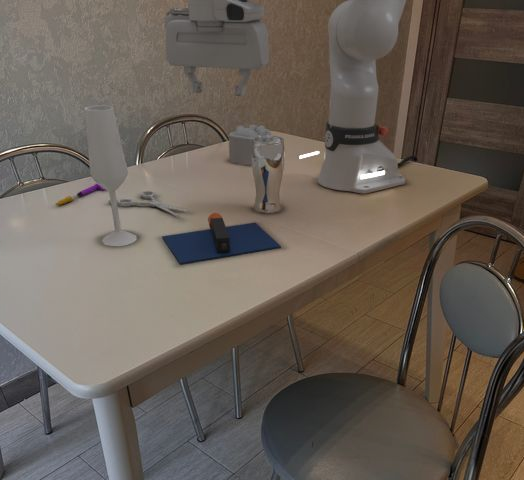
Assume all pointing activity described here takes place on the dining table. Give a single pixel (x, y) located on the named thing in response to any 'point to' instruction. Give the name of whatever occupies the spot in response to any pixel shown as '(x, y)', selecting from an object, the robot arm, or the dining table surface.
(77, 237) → the dining table surface
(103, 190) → the purple and yellow rod
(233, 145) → the lumpy-topped squat cylinder
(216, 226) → the marker
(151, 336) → the dining table surface
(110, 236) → the champagne flute
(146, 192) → the scissors
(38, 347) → the dining table surface
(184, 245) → the mat
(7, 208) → the dining table surface
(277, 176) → the beer glass
